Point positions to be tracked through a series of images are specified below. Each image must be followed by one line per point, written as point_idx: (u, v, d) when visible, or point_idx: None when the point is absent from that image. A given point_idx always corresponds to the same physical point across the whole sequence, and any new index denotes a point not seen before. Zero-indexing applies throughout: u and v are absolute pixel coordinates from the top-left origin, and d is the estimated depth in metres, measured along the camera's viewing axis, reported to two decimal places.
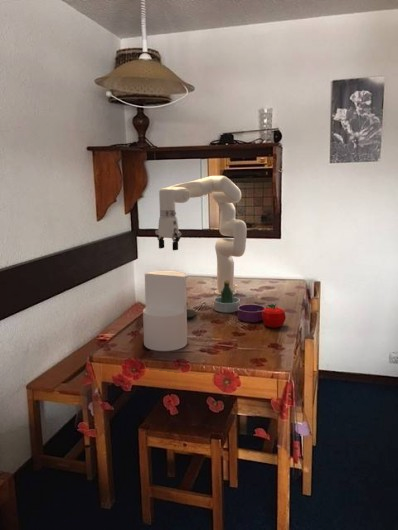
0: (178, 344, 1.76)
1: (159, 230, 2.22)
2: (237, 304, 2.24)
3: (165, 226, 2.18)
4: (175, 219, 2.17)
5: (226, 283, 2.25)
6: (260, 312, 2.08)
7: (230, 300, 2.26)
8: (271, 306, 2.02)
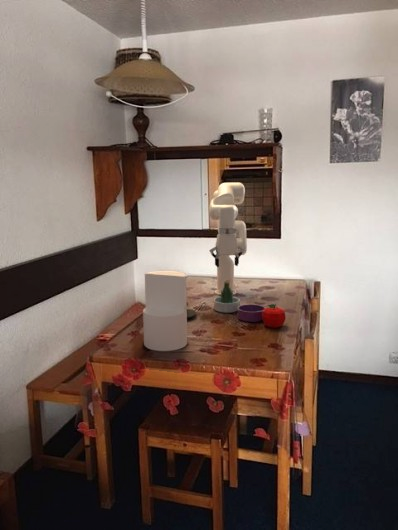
0: (178, 344, 1.76)
1: (220, 248, 2.20)
2: (237, 304, 2.24)
3: (230, 243, 2.20)
4: None
5: (226, 283, 2.25)
6: (260, 312, 2.08)
7: (230, 300, 2.26)
8: (271, 306, 2.02)
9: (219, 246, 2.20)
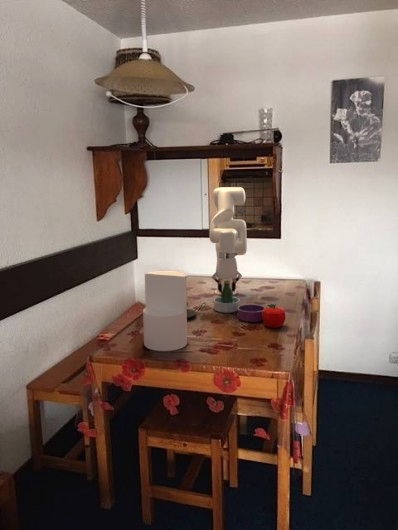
0: (178, 344, 1.76)
1: (220, 272, 2.23)
2: (237, 304, 2.24)
3: (230, 268, 2.23)
4: None
5: (226, 283, 2.25)
6: (260, 312, 2.08)
7: (230, 300, 2.26)
8: (271, 306, 2.02)
9: (219, 270, 2.22)
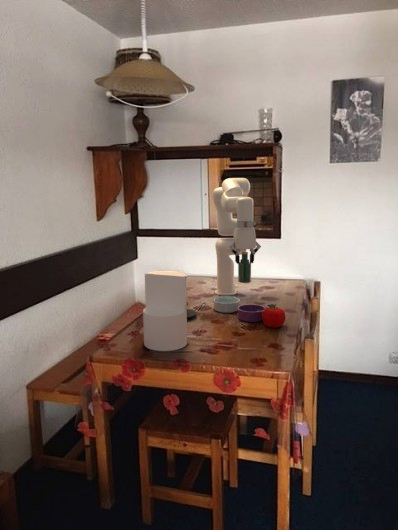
0: (178, 344, 1.76)
1: (238, 242, 2.09)
2: (237, 304, 2.24)
3: (248, 237, 2.09)
4: None
5: (244, 254, 2.11)
6: (260, 312, 2.08)
7: (248, 272, 2.12)
8: (271, 306, 2.02)
9: (237, 240, 2.09)
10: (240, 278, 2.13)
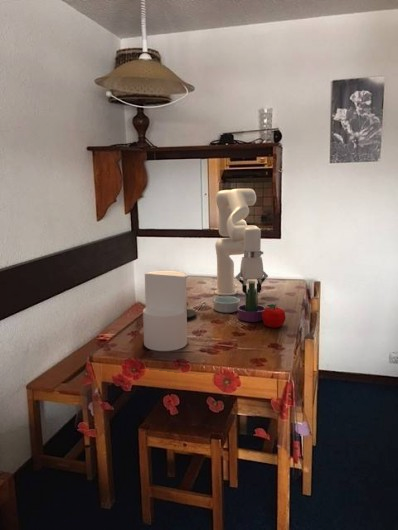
0: (178, 344, 1.76)
1: (245, 272, 2.07)
2: (237, 304, 2.24)
3: (255, 267, 2.08)
4: None
5: (251, 284, 2.10)
6: (260, 312, 2.08)
7: (255, 302, 2.10)
8: (271, 306, 2.02)
9: (244, 270, 2.07)
10: (247, 308, 2.11)
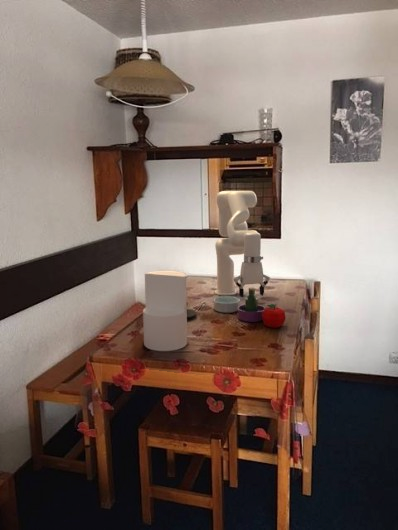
0: (178, 344, 1.76)
1: (245, 278, 2.08)
2: (237, 304, 2.24)
3: (255, 272, 2.08)
4: None
5: (251, 290, 2.10)
6: (260, 312, 2.08)
7: (255, 308, 2.11)
8: (271, 306, 2.02)
9: (244, 275, 2.07)
10: None
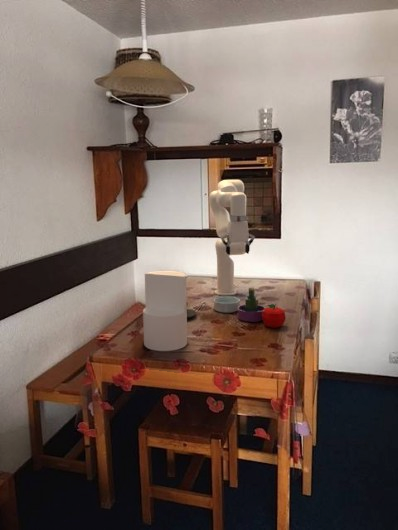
0: (178, 344, 1.76)
1: (232, 236, 2.21)
2: (237, 304, 2.24)
3: (241, 231, 2.21)
4: None
5: (251, 290, 2.10)
6: (260, 312, 2.08)
7: (255, 308, 2.11)
8: (271, 306, 2.02)
9: (230, 234, 2.20)
10: None
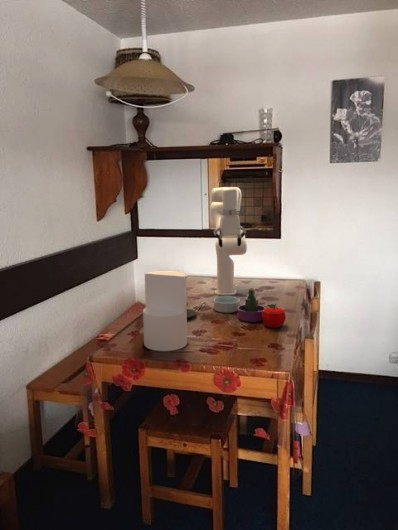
0: (178, 344, 1.76)
1: (224, 229, 2.30)
2: (237, 304, 2.24)
3: (233, 224, 2.30)
4: None
5: (251, 290, 2.10)
6: (260, 312, 2.08)
7: (255, 308, 2.11)
8: (271, 306, 2.02)
9: (223, 227, 2.30)
10: None
